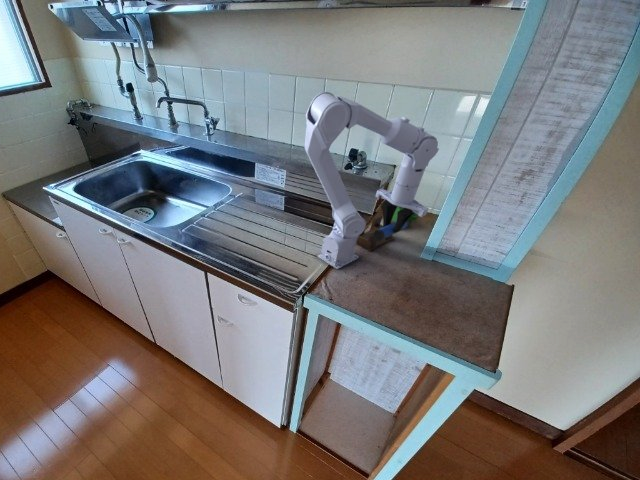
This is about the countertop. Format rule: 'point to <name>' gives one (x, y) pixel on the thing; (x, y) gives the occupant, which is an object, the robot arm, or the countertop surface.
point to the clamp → (412, 218)
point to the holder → (368, 239)
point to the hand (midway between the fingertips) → (391, 229)
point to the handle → (387, 231)
